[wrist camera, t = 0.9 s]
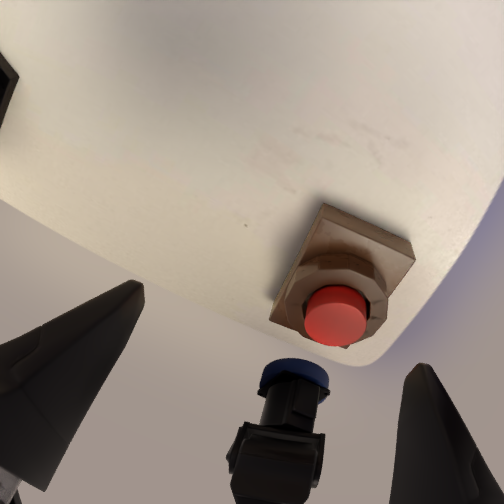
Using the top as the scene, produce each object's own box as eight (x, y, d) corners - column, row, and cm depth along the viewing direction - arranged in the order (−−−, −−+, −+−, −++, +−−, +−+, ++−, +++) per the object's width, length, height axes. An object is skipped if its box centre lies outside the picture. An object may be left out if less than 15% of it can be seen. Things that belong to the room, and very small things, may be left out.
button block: (347, 330, 27) (345, 366, 24) (273, 302, 27) (263, 337, 24) (411, 242, 21) (421, 276, 18) (323, 201, 21) (320, 231, 18)
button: (348, 335, 22) (347, 353, 21) (298, 316, 22) (294, 334, 21) (376, 297, 20) (378, 316, 18) (322, 275, 20) (320, 293, 18)
